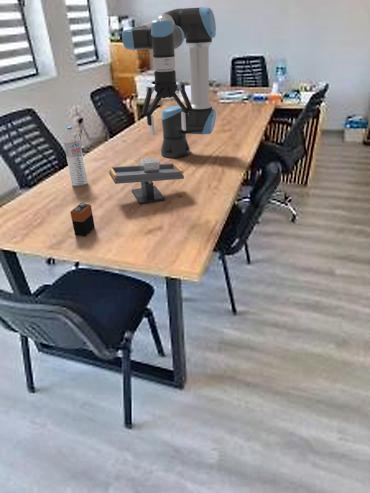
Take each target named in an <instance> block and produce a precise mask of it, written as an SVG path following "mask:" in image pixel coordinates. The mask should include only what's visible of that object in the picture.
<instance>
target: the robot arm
mask: <svg viewBox="0 0 370 493" xmlns="http://www.w3.org/2000/svg"><path fill="white" fill-rule="evenodd" d="M214 14H215V13H214V11H213V10H212V8H210V7H205V6H204V7H203V6H200V7H189V8H187V7H186V8H180V7H179V8H175V9H172V10H169V11H165V12H164V13H161V14H158V15H157V17H156V18H155V19H153V20H150V21H147V22H146V23H143V24H141V25H137V26H129V27H124V28H123V29H122V32H121V33H122V34H121V41H122V45H123V46H124V48H125V49H126V50H130V51H136V50H137V51H139V50H141V51H142V50H152V57H153V60H152V61H153V69H154V70H155V71H154V75H153V76H154V86H147V87H146V96H145V99H144V102H143V106H142V108H141V115H142V116H145V117H146V122H147V125H148V126H149V128H150V134H151V136H155V134H156V133H155V132H156V131H155V125H154V124H155V119H154V116H153V113H154V111H155V110H156V108H157V106H158V104H159V103H160V101H161V100H162V99H171V98H173V99H174V101H175V102H176V103H177V105H173V106H168V107H166V108H164V109H163V110H162V112H161V125H162V139H163V140H162V144H161V146H160V147H161V148H160V154H161V156H162V157H165V158H170V159H173V158H174V159H175V158H176V159H177V158H178V159H179V158H182V157H183V156H184V157H186V155H187V156H189V155H190V154H189V153H191V148H190V145H189V143H188V140H187V135H211V134H212V133H213V131H214V128H215V126H216V120H217V119H216V118H217V113H216V112H217V110H215V109H214V108H213V104H212V103H211V102H210V75H209V74H210V69H209V68H210V66H209V64H210V61H209V60H210V59H209V57H210V55H209V48H210V45H211V44H212V43H213V38H215V37H216V34H217V29H216V28H217V27H216V18H215V15H214ZM184 42H185V44H186V45H187V46H188V47H189V68H190V69H189V71H190V72H189V74H190V75H189V76H190V78H189V79H190V99H189V97H188V94H187V91H186V86H185V84H184V83H182V82H181V83H179V84H177V77H176V76H177V75H176V73H177V72H176V70H175V69H176V58H175V57H176V56H175V55H176V54H175V50H176V49H178V48H180V47H181V46H182V45H183V43H184ZM177 89H178V91H180V94H181V97H182V100H183V101H184V103H185V104H184V103H183V102H182V100H181V99H180V98H179V95H177V93H176V92H177ZM154 92H155V93H156V94H155V96H154V99H153V101H152V102H151V98H152V96H153V93H154ZM150 103H151V105H150ZM188 154H189V155H188ZM184 157H183V158H184Z"/></svg>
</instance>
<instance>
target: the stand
mask: <svg viewBox="0 0 370 493" xmlns="http://www.w3.org/2000/svg"><path fill="white" fill-rule="evenodd" d="M151 182H152V183H151V184H149V183H148V182H140V186H141V187H140V188H135V189H134V188H133V189H131V193H132V194H133V196H134V197H135V199H136V200H137V202H138V204H139V205H140V206H143V205H149V204H156V203H160V202H165V201H166V197H165V196H164V195H163V194H162V192H161V191H160V190H159V189H158V187H157V186H156V185H154V181H151Z"/></svg>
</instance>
